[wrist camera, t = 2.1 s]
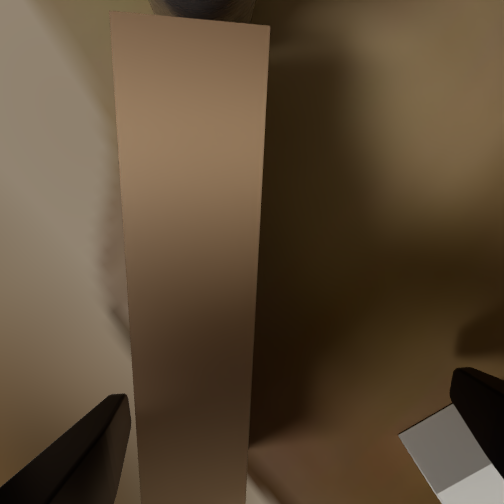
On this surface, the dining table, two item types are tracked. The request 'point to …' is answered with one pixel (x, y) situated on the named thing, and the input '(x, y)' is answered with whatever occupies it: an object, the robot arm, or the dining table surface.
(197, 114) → the leg bar
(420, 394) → the dining table surface
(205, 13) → the pivot pin
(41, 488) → the robot arm
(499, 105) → the dining table surface
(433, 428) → the stop block
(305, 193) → the dining table surface
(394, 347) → the dining table surface
